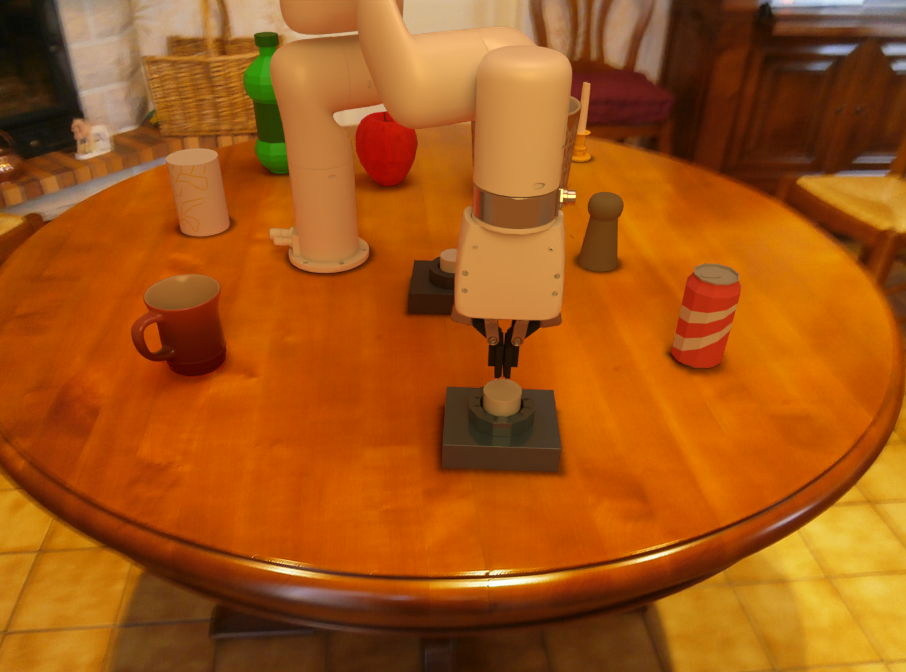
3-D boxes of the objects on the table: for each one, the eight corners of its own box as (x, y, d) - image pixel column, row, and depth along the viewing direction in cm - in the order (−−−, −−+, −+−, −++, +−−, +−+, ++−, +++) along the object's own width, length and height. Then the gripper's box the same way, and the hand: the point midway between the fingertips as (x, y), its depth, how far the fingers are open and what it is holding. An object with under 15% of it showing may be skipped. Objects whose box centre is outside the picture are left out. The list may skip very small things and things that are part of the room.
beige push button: (482, 416, 76) (483, 400, 75) (482, 393, 79) (483, 378, 78) (521, 417, 76) (522, 402, 75) (519, 394, 79) (521, 379, 78)
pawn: (617, 273, 112) (628, 204, 105) (576, 269, 113) (585, 201, 106) (617, 255, 116) (627, 189, 110) (578, 252, 117) (587, 185, 111)
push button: (439, 274, 101) (439, 260, 100) (440, 261, 105) (440, 248, 103) (468, 275, 101) (468, 261, 100) (468, 261, 105) (469, 248, 103)
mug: (200, 337, 97) (184, 267, 91) (249, 357, 93) (236, 285, 87) (125, 383, 88) (102, 309, 82) (175, 406, 85) (156, 331, 79)
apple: (384, 167, 149) (381, 99, 141) (431, 179, 143) (431, 109, 135) (345, 184, 141) (340, 113, 133) (393, 198, 135) (390, 125, 128)
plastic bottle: (258, 161, 151) (239, 29, 137) (309, 159, 152) (296, 28, 138) (253, 179, 143) (233, 40, 129) (308, 176, 144) (294, 39, 130)
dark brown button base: (409, 313, 102) (408, 281, 99) (414, 279, 110) (414, 248, 107) (495, 316, 101) (497, 283, 98) (495, 281, 109) (496, 250, 107)
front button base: (442, 468, 76) (442, 431, 73) (446, 408, 85) (446, 373, 82) (558, 472, 76) (563, 435, 73) (551, 412, 84) (555, 376, 81)
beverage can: (664, 344, 96) (682, 261, 89) (714, 345, 95) (736, 261, 88) (675, 371, 91) (695, 285, 84) (727, 372, 90) (752, 286, 83)
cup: (170, 231, 123) (154, 161, 116) (200, 213, 130) (187, 145, 123) (210, 239, 121) (197, 168, 114) (239, 220, 127) (228, 152, 120)
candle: (576, 152, 156) (585, 75, 147) (595, 158, 153) (606, 80, 144) (560, 157, 154) (568, 79, 145) (579, 163, 150) (588, 84, 141)
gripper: (595, 187, 67) (571, 352, 78) (432, 182, 68) (431, 347, 79) (606, 222, 61) (579, 396, 72) (427, 216, 62) (426, 390, 73)
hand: (502, 370), depth 75 cm, fingers closed
